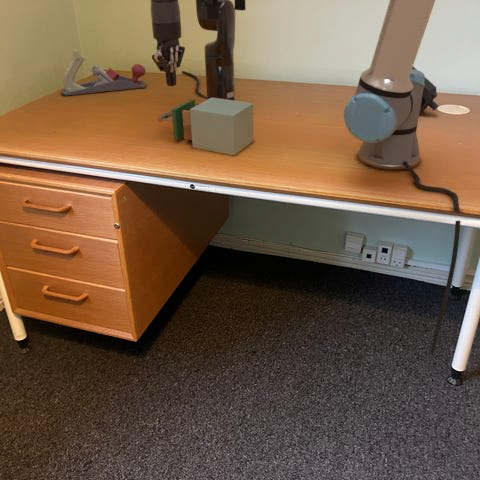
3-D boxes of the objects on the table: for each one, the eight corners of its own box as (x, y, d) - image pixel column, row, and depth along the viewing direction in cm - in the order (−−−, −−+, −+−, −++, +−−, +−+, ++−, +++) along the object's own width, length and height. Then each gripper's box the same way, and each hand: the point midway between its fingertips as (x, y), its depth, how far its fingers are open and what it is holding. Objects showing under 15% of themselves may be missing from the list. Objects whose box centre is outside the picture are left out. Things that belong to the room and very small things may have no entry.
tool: (376, 92, 179) (403, 55, 168) (419, 129, 175) (449, 94, 164) (367, 96, 175) (394, 59, 164) (411, 135, 171) (441, 99, 160)
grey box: (192, 147, 148) (189, 109, 142) (213, 134, 157) (211, 97, 151) (234, 155, 143) (233, 115, 137) (253, 141, 151) (253, 103, 146)
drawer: (156, 136, 153) (153, 106, 148) (176, 125, 161) (174, 96, 156) (210, 146, 146) (208, 115, 141) (228, 134, 154) (227, 103, 149)
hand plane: (62, 90, 197) (53, 48, 189) (145, 82, 205) (140, 41, 197) (62, 96, 191) (54, 53, 184) (148, 87, 199) (143, 45, 191)
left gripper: (168, 14, 146) (173, 78, 155) (139, 22, 136) (146, 90, 145) (191, 16, 143) (195, 81, 152) (163, 24, 133) (169, 93, 142)
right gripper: (235, -88, 130) (237, 5, 141) (179, -86, 112) (186, 21, 123) (263, -89, 127) (262, 7, 138) (210, -87, 109) (215, 23, 120)
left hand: (171, 85), depth 148 cm, fingers closed
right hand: (227, 14), depth 131 cm, fingers open, 13 cm apart
